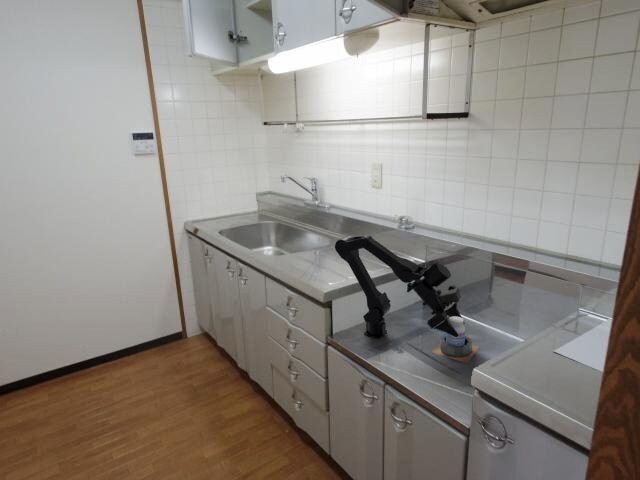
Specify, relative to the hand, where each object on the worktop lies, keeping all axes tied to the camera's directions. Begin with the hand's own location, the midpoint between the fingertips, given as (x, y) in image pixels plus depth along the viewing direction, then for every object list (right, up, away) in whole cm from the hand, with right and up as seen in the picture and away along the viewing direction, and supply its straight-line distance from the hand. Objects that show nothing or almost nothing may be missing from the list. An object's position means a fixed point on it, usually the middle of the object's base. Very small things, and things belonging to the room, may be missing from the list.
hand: (460, 330), depth 133 cm
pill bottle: (-1, -7, +3) cm, 8 cm away
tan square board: (-1, -8, +3) cm, 8 cm away
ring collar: (-1, -7, +3) cm, 8 cm away
